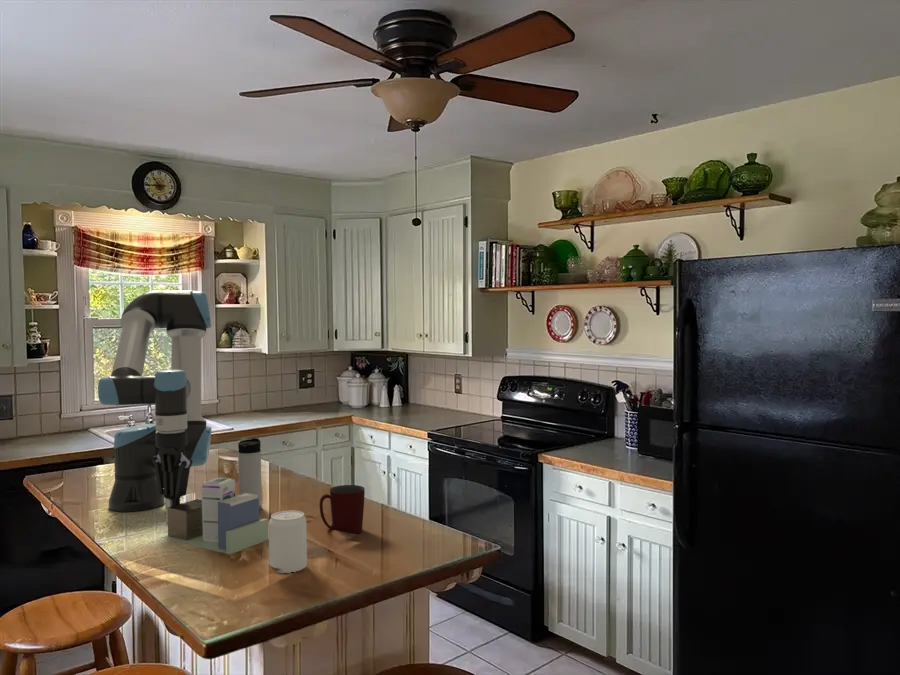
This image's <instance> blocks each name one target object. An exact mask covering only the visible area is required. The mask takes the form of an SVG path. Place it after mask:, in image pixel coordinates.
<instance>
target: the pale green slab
mask: <svg viewBox="0 0 900 675" xmlns="http://www.w3.org/2000/svg"><path fill="white" fill-rule="evenodd" d="M160 538H161V539H165V540H169V541H174V542H177V543H182V544H185V545H189V546H193V547H197V548H201V549H202V548H203V549H205V550H210V551H215V552H219V553H222V554H225V555H226V554H227V555H233V554H235V553H237V552H240V551H243V550H245V549H247V548H251V547H253V546H256V545H258V544H262V543H263V542H267V541H269V519H268V518H262V519H259V520H258V521H256V522H253V523H250V524H247V525H244V526H241V527H238V528H235V529H232V530H230V531H227V532H226V550H223V549H219V548H218V543H212V542H205V541H203V535H201V536H198V537H195V538H192V539H189V540H184V539H180V538H176V537H171V536H168V534H167V535H165V536H161V537H160Z"/></svg>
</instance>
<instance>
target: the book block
mask: <svg viewBox="0 0 900 675" xmlns="http://www.w3.org/2000/svg"><path fill="white" fill-rule="evenodd" d="M258 520H260V509H259V495H255V494H249V493H245V494H242V495H239V494H238V495H235V497H232V498H228V499H225V500H222V501H218V548H219V549H223V550H226V532H227V531H230V530H232V529H235V528H238V527H241V526H244V525H247V524H250V523H253V522H256V521H258Z"/></svg>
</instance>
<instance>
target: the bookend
mask: <svg viewBox="0 0 900 675" xmlns="http://www.w3.org/2000/svg"><path fill="white" fill-rule="evenodd" d="M167 517H168V524H167V535H168V536H171V537H176V538H180V539H184V540H189V539H192V538H195V537H198V536H201V535H203V520H202V499H192V500H189V501H185V502H182V503H180V504H178V505H175V506H171V507H168V508H167Z"/></svg>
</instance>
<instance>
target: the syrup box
mask: <svg viewBox="0 0 900 675" xmlns="http://www.w3.org/2000/svg"><path fill="white" fill-rule="evenodd" d="M200 488H201V489H200V490H201V500H202V520H203V541H205V542H212V543H218V501H222V500H225V499H228V498H232V497H235V496H236V480H235V478H232V477H214V478H212V479H210V480H207V481H204V482H202V483H201V487H200Z"/></svg>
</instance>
